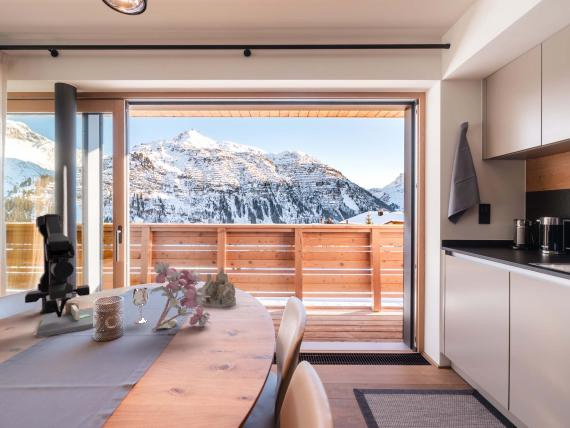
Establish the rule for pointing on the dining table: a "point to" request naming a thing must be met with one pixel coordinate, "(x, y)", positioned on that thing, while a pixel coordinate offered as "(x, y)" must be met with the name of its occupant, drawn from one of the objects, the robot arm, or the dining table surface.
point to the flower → (188, 301)
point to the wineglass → (140, 301)
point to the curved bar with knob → (73, 309)
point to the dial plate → (65, 323)
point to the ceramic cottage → (219, 291)
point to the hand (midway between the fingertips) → (59, 317)
